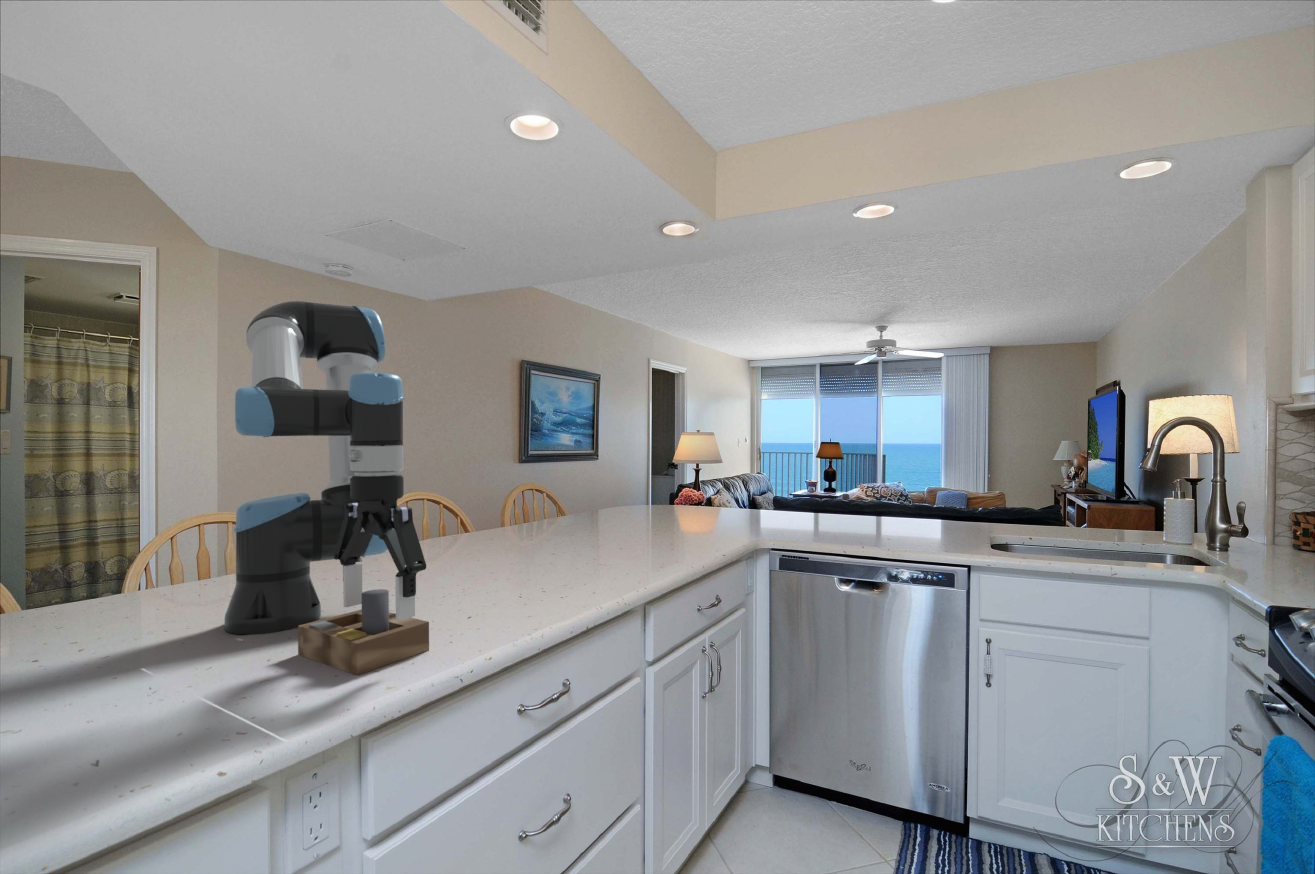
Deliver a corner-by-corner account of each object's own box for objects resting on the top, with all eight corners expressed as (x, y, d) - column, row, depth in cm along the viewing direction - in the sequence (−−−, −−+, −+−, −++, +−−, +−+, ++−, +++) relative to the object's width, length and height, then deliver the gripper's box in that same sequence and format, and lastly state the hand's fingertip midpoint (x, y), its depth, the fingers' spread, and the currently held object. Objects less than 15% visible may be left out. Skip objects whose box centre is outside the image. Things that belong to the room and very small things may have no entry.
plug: (380, 651, 97) (380, 588, 97) (394, 656, 95) (393, 591, 95) (357, 658, 94) (356, 593, 94) (370, 663, 92) (369, 596, 92)
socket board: (298, 654, 96) (297, 623, 96) (369, 633, 106) (369, 605, 106) (357, 675, 87) (357, 640, 87) (429, 650, 97) (428, 619, 97)
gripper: (309, 473, 98) (310, 605, 98) (405, 477, 85) (407, 631, 85) (353, 470, 104) (354, 595, 104) (450, 474, 91) (451, 617, 91)
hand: (378, 611), depth 95 cm, fingers open, 13 cm apart
